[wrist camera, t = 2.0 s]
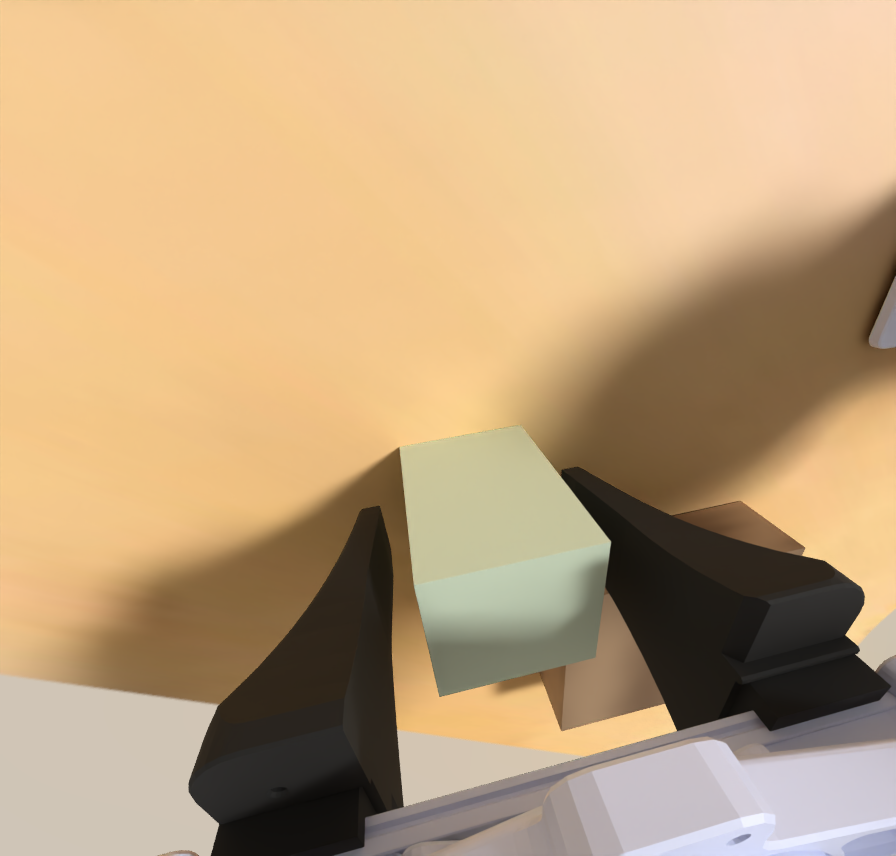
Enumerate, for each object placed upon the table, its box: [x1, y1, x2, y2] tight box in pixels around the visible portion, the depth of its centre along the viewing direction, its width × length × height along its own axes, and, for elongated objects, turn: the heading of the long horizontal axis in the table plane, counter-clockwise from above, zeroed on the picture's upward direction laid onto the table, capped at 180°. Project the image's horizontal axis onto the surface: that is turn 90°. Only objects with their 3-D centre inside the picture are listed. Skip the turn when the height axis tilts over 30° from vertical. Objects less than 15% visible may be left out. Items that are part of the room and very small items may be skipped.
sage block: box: [400, 425, 611, 697], centre depth 12 cm, size 4×4×6 cm
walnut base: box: [539, 501, 805, 731], centre depth 18 cm, size 10×10×3 cm
